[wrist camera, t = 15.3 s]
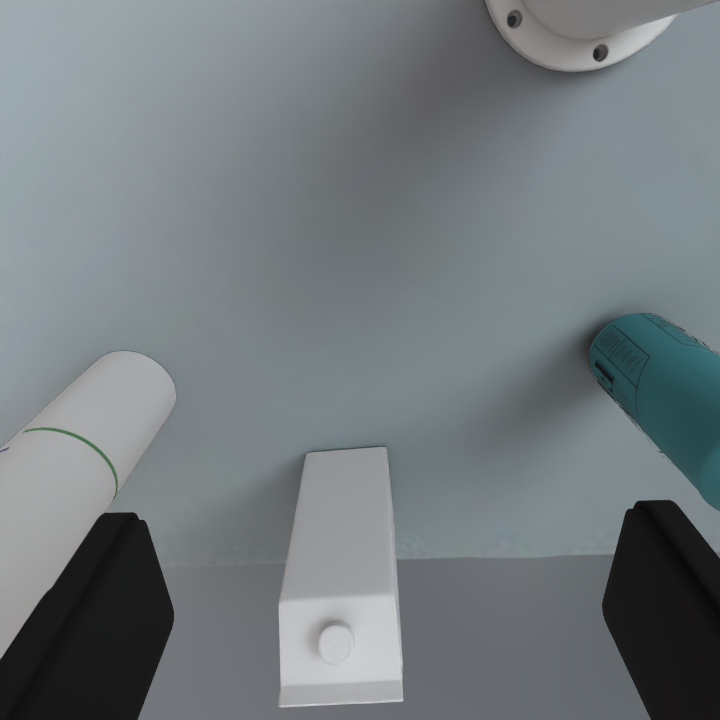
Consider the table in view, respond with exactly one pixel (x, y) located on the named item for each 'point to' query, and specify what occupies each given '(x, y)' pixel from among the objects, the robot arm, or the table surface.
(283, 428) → the table surface
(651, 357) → the beverage bottle
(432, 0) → the table surface
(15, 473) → the cylindrical container
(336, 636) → the milk carton
